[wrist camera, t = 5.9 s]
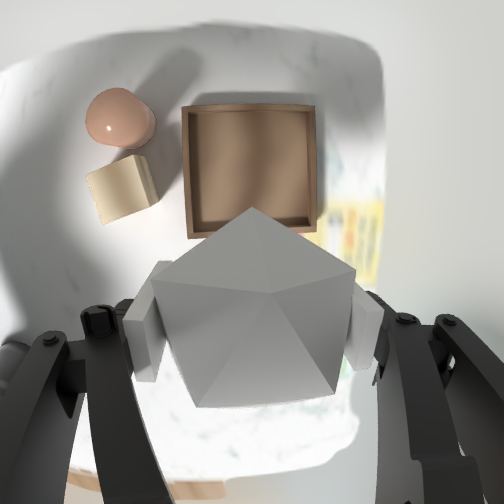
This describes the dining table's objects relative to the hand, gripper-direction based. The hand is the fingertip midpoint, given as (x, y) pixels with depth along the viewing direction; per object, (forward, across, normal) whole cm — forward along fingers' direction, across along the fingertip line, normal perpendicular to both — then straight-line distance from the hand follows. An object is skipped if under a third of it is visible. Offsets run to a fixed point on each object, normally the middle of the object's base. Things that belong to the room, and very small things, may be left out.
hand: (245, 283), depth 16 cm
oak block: (+16, +11, -4) cm, 20 cm away
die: (0, 0, 0) cm, 1 cm away
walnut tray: (+16, -2, -6) cm, 17 cm away
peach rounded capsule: (+16, +11, -11) cm, 22 cm away
